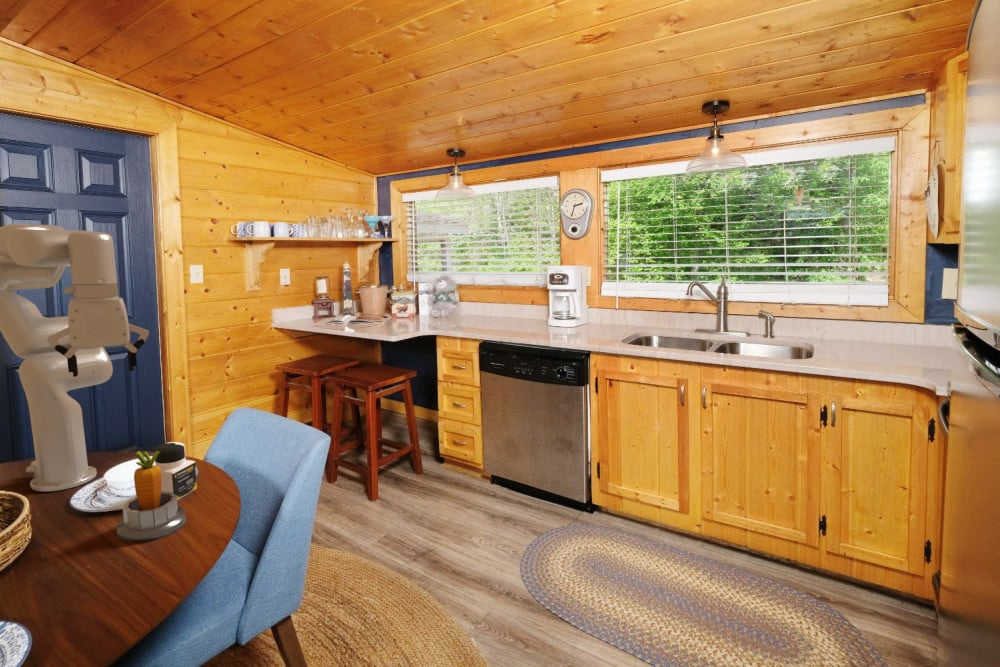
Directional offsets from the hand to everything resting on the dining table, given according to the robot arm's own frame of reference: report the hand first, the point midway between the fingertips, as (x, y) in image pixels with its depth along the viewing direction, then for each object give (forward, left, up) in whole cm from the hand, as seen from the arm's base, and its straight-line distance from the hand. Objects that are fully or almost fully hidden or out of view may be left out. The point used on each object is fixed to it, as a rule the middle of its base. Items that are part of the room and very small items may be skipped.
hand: (104, 372), depth 116 cm
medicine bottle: (+8, +7, -31) cm, 32 cm away
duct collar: (+14, -7, -30) cm, 34 cm away
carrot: (+14, -7, -29) cm, 33 cm away
